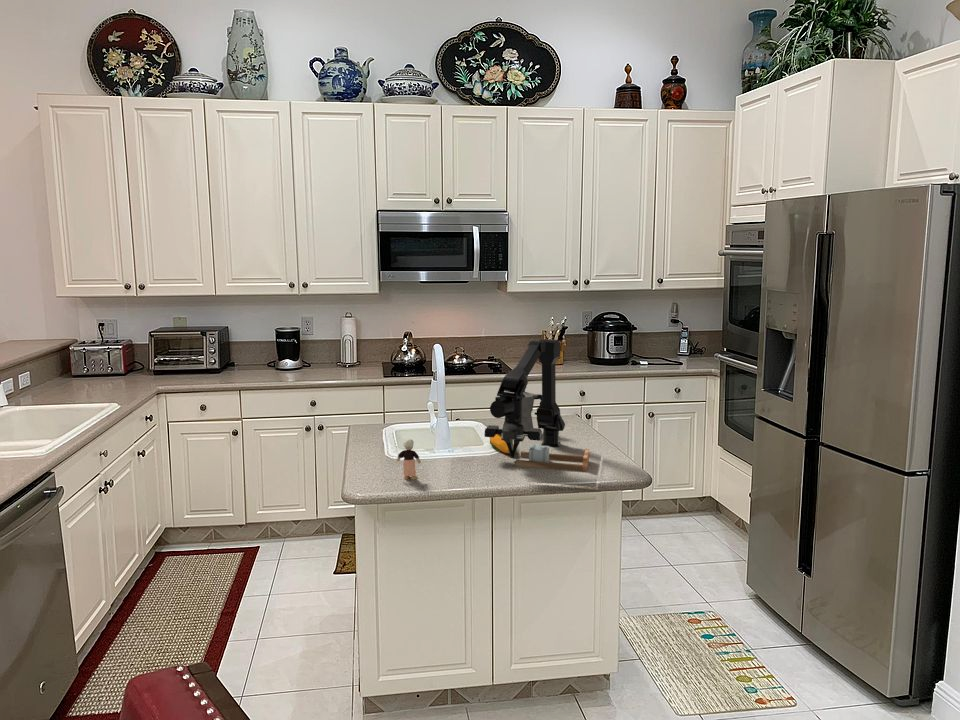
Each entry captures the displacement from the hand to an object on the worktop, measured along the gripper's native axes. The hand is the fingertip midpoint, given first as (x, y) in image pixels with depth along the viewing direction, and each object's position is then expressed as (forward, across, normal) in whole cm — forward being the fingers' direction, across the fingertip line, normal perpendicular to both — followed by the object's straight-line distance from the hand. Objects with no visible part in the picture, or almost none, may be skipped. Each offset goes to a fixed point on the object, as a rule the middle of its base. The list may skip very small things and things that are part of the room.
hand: (512, 457), depth 242 cm
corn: (+2, -5, +12) cm, 13 cm away
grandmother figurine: (+2, -29, -24) cm, 38 cm away
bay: (+2, +13, 0) cm, 13 cm away
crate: (+1, +9, 0) cm, 9 cm away
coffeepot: (+2, -2, +41) cm, 41 cm away
